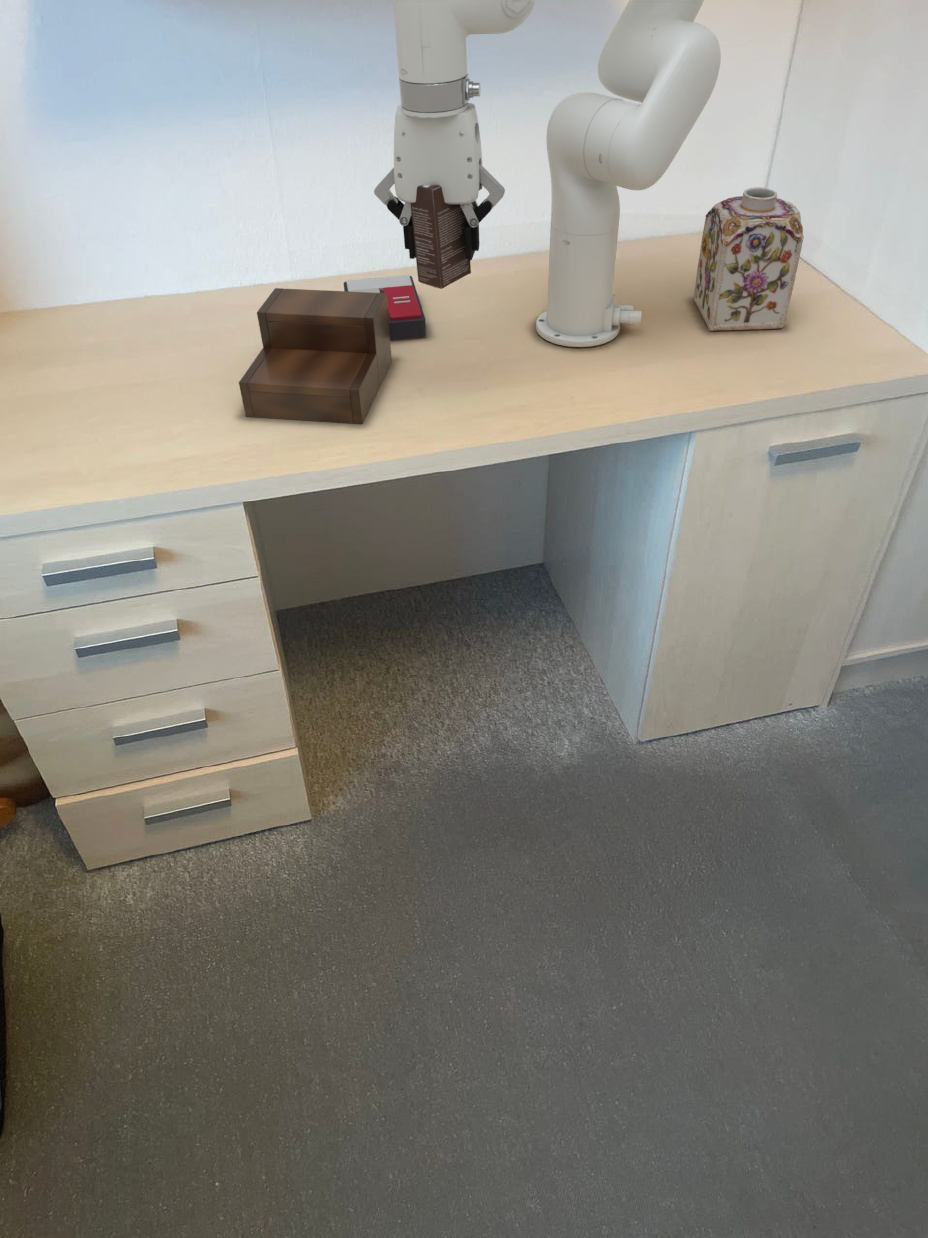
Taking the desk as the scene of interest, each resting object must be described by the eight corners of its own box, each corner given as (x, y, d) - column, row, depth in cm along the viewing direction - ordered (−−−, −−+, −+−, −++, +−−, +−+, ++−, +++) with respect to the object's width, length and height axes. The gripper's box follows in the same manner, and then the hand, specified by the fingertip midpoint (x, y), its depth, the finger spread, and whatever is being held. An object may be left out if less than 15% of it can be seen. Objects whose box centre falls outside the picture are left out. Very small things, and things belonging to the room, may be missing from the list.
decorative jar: (764, 297, 145) (789, 177, 133) (785, 329, 136) (814, 204, 124) (690, 299, 145) (708, 179, 132) (706, 332, 136) (727, 207, 124)
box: (445, 266, 118) (440, 167, 110) (472, 274, 116) (468, 174, 108) (414, 282, 115) (406, 181, 107) (441, 290, 113) (435, 189, 104)
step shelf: (391, 360, 132) (386, 292, 125) (362, 424, 119) (354, 352, 112) (286, 354, 134) (275, 287, 127) (245, 416, 121) (230, 346, 114)
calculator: (351, 321, 133) (342, 276, 143) (354, 348, 136) (345, 302, 146) (425, 314, 134) (411, 270, 145) (426, 341, 137) (412, 295, 148)
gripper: (515, 85, 103) (514, 245, 115) (366, 85, 105) (381, 242, 117) (506, 103, 97) (507, 269, 110) (350, 103, 100) (368, 265, 112)
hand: (442, 253), depth 113 cm, fingers closed on box, 6 cm apart
